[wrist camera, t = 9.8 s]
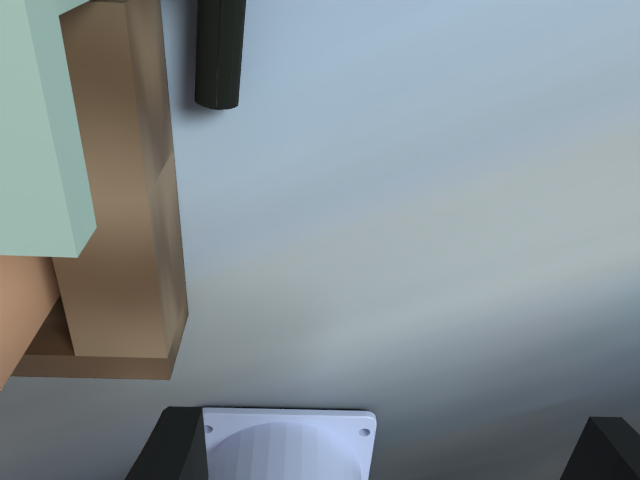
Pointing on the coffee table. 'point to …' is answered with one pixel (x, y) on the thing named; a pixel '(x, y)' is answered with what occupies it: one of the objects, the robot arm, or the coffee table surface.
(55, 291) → the tan peg
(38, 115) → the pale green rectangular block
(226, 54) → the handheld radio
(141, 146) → the socket plate
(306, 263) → the coffee table surface
